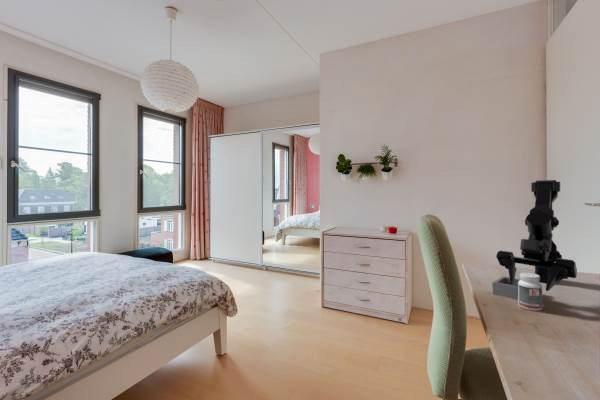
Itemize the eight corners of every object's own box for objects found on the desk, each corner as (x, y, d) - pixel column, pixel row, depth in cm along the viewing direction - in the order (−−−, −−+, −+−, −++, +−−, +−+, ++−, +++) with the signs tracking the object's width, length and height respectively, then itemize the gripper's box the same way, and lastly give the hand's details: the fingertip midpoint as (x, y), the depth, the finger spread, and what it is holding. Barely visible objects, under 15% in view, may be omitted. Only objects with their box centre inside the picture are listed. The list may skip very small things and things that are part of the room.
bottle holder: (502, 286, 102) (502, 276, 102) (537, 294, 94) (537, 282, 94) (492, 293, 96) (492, 282, 96) (529, 302, 88) (529, 289, 88)
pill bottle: (546, 311, 82) (546, 278, 81) (524, 310, 83) (524, 277, 82) (534, 303, 87) (534, 272, 87) (513, 302, 88) (513, 271, 88)
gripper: (498, 226, 94) (485, 265, 87) (575, 232, 79) (567, 279, 73) (506, 246, 99) (494, 284, 93) (580, 255, 84) (572, 301, 78)
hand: (528, 286), depth 84 cm, fingers open, 8 cm apart
